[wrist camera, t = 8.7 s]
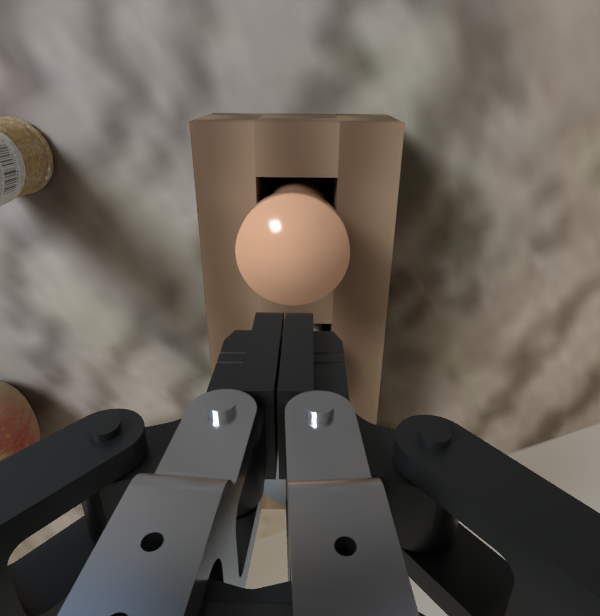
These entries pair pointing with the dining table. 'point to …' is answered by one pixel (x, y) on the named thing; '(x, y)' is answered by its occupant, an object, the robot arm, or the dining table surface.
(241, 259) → the terracotta plug
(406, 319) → the dining table surface
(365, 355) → the walnut block
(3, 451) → the apple
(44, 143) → the sprinkles bottle
